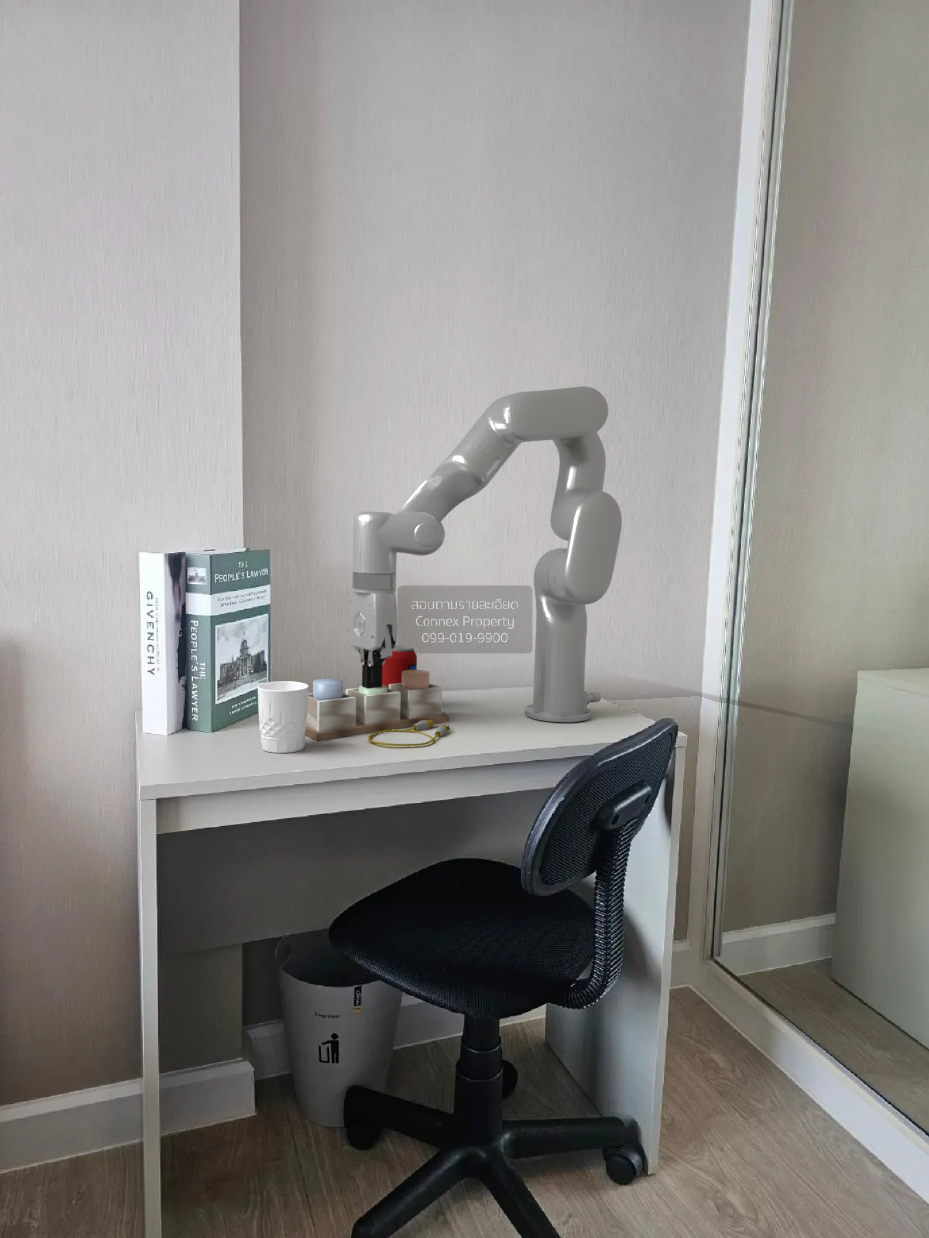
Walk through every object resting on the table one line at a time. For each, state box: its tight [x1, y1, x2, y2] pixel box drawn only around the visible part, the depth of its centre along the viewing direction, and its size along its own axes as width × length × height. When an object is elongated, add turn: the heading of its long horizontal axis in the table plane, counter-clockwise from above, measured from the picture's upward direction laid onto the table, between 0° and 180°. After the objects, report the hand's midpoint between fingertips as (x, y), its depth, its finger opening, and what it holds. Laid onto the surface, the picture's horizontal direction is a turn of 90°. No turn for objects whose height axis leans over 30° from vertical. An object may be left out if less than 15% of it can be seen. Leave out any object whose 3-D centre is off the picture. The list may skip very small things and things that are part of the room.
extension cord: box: [367, 720, 451, 749], centre depth 151 cm, size 12×16×2 cm
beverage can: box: [382, 644, 418, 688], centre depth 171 cm, size 7×7×12 cm
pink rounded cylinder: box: [402, 669, 430, 690], centre depth 164 cm, size 5×5×5 cm
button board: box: [305, 683, 450, 742], centre depth 158 cm, size 27×9×6 cm, turn 127°
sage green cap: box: [358, 684, 387, 695], centre depth 158 cm, size 5×5×5 cm
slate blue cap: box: [312, 678, 344, 701], centre depth 153 cm, size 5×5×5 cm
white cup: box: [257, 680, 310, 754], centre depth 142 cm, size 8×8×10 cm
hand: (371, 687), depth 158 cm, fingers closed
